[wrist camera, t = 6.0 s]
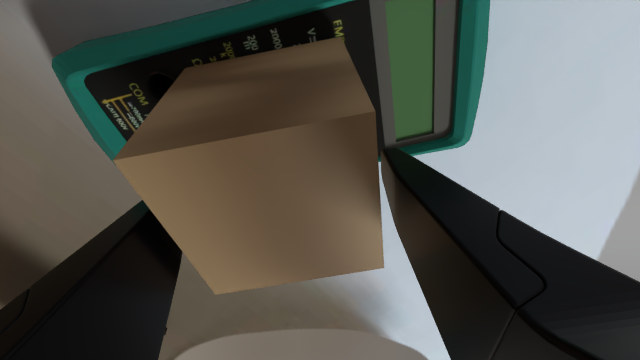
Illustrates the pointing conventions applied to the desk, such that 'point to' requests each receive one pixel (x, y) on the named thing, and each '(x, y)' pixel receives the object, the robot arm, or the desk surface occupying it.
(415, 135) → the digital multimeter
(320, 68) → the walnut cube
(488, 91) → the desk surface
